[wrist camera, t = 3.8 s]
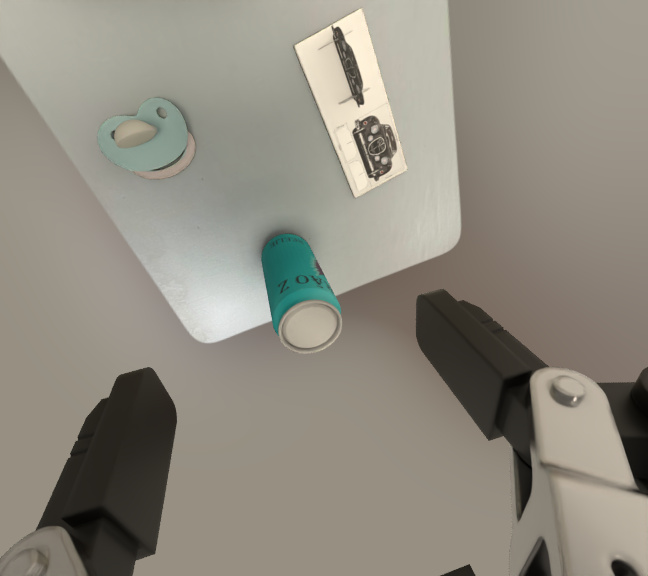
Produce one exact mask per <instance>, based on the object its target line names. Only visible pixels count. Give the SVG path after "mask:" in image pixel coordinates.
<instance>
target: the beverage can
mask: <svg viewBox="0 0 648 576" xmlns="http://www.w3.org/2000/svg"><path fill="white" fill-rule="evenodd" d="M261 261H262V267H263V272H264V278H265V283H266V289H267V294H268V300H269V305H270V311H271V316H272V322H273V327H274V329H275V332H276V333H277V334H278V336H279V338H280V340H281V342H282V343H283V345H284V346H285V347H286V348H288V349H289V350H291V351H293V352H297V353H302V354H303V353H305V354H309V353H315V352H318V351H321V350H323V349H325V348H327V347H328V346H330V345H331V344H332V343H333V342H334V341H335V340H336V339H337V337H338V336H339V334H340V332H341V328H342V318H341V311H340V310H341V309H340V305H339V303H338V301H337V299H336V297H335V295H334V293H333V291H332V289H331V287H330V285H329V283H328V281H327V279H326V277H325V275H324V274H323V272H322V270H321V268H320V266H319V264H318V262H317V260H316V258H315V256H314V254H313V252H312V250H311V248H310V246H309V245H308V243H307V242H306V241H305V240H304V239H302V238H301V237H299V236H296V235H293V234H280V235H277V236H275V237H274V238H272V239H271V240H270V241H269V242H268V243H267V244H266V246H265V247H264V249H263V252H262V257H261Z"/></svg>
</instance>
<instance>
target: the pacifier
mask: <svg viewBox="0 0 648 576" xmlns="http://www.w3.org/2000/svg"><path fill="white" fill-rule="evenodd" d="M159 107H162V108H164V109H165V110H166V112H167V117H166V118H161V117H159V115H158V114H157V109H158V108H159ZM113 130H115V134H114V139H115V140H114V139H113V138H112V136H111V132H112V131H113ZM97 138H98V144H99V147H100V149H101V151H102V153H103V154H104V155H105V156H106V157H107V158H108V159H109V160H110V161H111V162H113V163H114V164H116V165H118V166H120V167H122V168H124V169H127V170H132V171H133V172H134V173H135V174H137V175H139V176H141V177H143V178H147V179H164V178H168V177H171V176H174V175H176V174H178V173H179V172H181V171H182V170H184V169H185V168H186V167H187V166H188V165H189V164H190V162H191V160H192V159H193V157H194V154H195V142H194V139H193V137H192V135H191V134H190V133H189V132H188V131H187V126H186V122H185V120H184V117H183V116H182V114H181V112H180V111H179V110H178V108H177V107H176V106H175V105H174V104H172V103H171V102H169V101H167V100H165V99H162V98H157V97H156V98H151V99H148V100H146V101H145V102H144V103H143V104H142V105H141V106H140V108H139V110H138V114H137V115H136V116H115V117H112V118H110V119H108V120H107V121H105V122H104V123H103V124H102V125H101V127H100V129H99V131H98V136H97ZM184 149H185V150H184ZM183 151H184V154H183V156H182V157H181V158H180V159H179V160H178V161H177V162H176V163H175V164H173V165H171V166H169V167H167V168H164V169H158V168H160V167H163V166H165V165H167V164H169V163H171V162H172V161H174V160H175V159H176V158H177V157H179V156H180V155H181V153H182V152H183Z"/></svg>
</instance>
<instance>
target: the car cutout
mask: <svg viewBox="0 0 648 576" xmlns="http://www.w3.org/2000/svg"><path fill="white" fill-rule="evenodd" d="M293 47H294V50H295V52H296V55H297V57H298V60H299V62H300V65H301V67H302V70H303V72H304V74H305V77H306V79H307V82H308V84H309V87H310V89H311V92H312V94H313V97H314V99H315V102H316V104H317V107H318V109H319V112H320V114H321V117H322V119H323V122H324V124H325V127H326V129H327V132H328V134H329V137H330V139H331V141H332V144H333V146H334V149H335V151H336V154H337V156H338V159H339V161H340V164H341V166H342V169H343V171H344V174H345V176H346V179H347V181H348V184H349V186H350V189H351V191H352V194H353V196H354V198H357V197H359V196H360V195H362V194H364V193H366V192H368V191H370V190H371V189H373V188H375V187H377V186H379V185H381V184H383V183H384V182H386V181H388V180H390V179H392V178H394V177H395V176H397V175H399V174H401V173H403V172H405V171H407V170H408V168H407V165H406V161H405V158H404V154H403V151H402V147H401V144H400V140H399V137H398V133H397V130H396V126H395V123H394V119H393V115H392V112H391V108H390V105H389V101H388V98H387V94H386V91H385V87H384V84H383V80H382V77H381V73H380V70H379V66H378V63H377V59H376V55H375V52H374V48H373V45H372V41H371V38H370V34H369V31H368V27H367V24H366V20H365V17H364V13H363V10H362V8H360V9H358V10H357V11H355V12H353V13H351V14H349V15H348V16H346V17H344V18H342V19H340V20H339V21H337V22H335V23H333V24H332V25H330V26H328V27H326V28H324V29H323V30H321V31H319V32H317V33H316V34H314V35H312V36H310V37H308V38H307V39H305V40H303V41H301V42H299V43H298V44H296V45H294V46H293Z"/></svg>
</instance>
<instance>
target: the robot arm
mask: <svg viewBox="0 0 648 576" xmlns="http://www.w3.org/2000/svg"><path fill="white" fill-rule="evenodd" d="M416 337H417V341H418V344H419V346H420V348H421V350H422V352H423V353H424V355H425V356H426V357H427V358H428V360H429V361H430V363H431V364H432V365H433V367H434V368H435V369H436V370H437V372H438V373H439V375H440V376H441V377H442V379H443V380H444V381H445V383H446V384H447V385H448V387H449V388H450V389H451V391H452V392H453V393H454V395H455V396H456V397H457V399H458V400H459V401H460V403H461V404H462V405H463V407H464V408H465V409H466V411H467V412H468V413H469V415H470V416H471V417H472V419H473V420H474V422H475V423H476V424H477V426H478V427H479V428H480V430H481V431H482V432H483V434H484V435H485V436H486V438H487V439H488V440H493V439H496V438H499V437H502V436H504V437H505V438H506V439H507V440H508V442H509V443H510V444H511V445H510V449H509V455H510V482H511V503H512V504H511V505H512V506H511V507H512V536H511V543H510V554H509V576H648V367H647V368H645V369H644V370H643V371H642V372H641V374H640V375H639V377H638V379H637V381H636V382H635V383H634V382H631V383H595V382H594V381H592V380H591V379H589V378H588V377H586V376H584V375H582V374H580V373H578V372H575V371H573V370H570V369H565V368H559V367H549V366H548V365H546V364H545V363H544V362H543V361H542V360H540V359H539V358H538V357H537V356H536V355H535V354H533V353H532V352H531V351H530V350H529V349H528V348H526V347H525V346H524V345H523V344H522V343H521V342H519V341H518V340H517V339H516V338H515V337H514V336H512V335H511V334H510V333H509V332H507V330H504V329H503V327H502V326H501V325H499V324H498V323H497V322H496V321H493V319H492V318H491V317H490V316H489V315H488V314H487V313H485V312H484V311H483V310H482V309H481V308H479V307H477V306H475V305H472V304H470V303H468V302H466V301H464V300H462V301H456V300H455V299H454V298H453V297H452V296H451V295H450V294H449V293H448V292H447V291H445V290H443V289H440V290H436V291H432V292H429V293H425V294H421V295H419V296H418V297H417V303H416ZM176 424H177V415H176V408H175V405H174V403H173V401H172V399H171V397H170V396H169V394H168V392H167V391H166V389H165V387H164V386H163V384H162V382H161V381H160V379H159V378H158V376H157V374H156V373H155V371H154V370H153V369H152V368H150V367H147V368H143V369H140V370H136V371H132V372H129V373H125V374H121V375H119V376H118V377H117V379H116V381H115V383H114V386H113V388H112V391H111V393H110V396H109V398H105V399H102V400H101V401H100V402H99V403H98V405H97V406H96V407H95V408H94V409H93V411H92V412H91V413H90V414H89V415H88V416H87V418H86V420H85V422H84V424H83V426H82V428H81V431H80V433H79V435H78V441H76V442H75V444H74V446H73V449H72V451H71V453H70V454H71V457H70V458H68V460H67V462H66V464H65V466H64V469H63V471H62V473H61V476H60V478H59V480H58V482H57V485H56V487H55V489H54V491H53V493H52V496H51V498H50V500H49V502H48V505H47V507H46V509H45V511H44V513H43V516H42V518H41V520H40V522H39V525H38V527H37V529H36V531H34V532H32V533H30V534H29V535H27V536H26V537H24V538H23V539H21V540H20V541H19V542H17V543H16V544H15V545H14V546H13V547H11V548H10V549H9V550H8V551H7V552H6V553H5V554H4V555H3V556H2V557H1V558H0V576H132V575H133V570H134V565H135V561H136V560H139V559H142V558H144V557H147V556H150V555H153V554H155V551H156V545H157V539H158V533H159V527H160V521H161V514H162V509H163V503H164V497H165V491H166V485H167V479H168V472H169V467H170V460H171V454H172V448H173V442H174V436H175V429H176ZM441 576H475V574H474V572H473V570H472V568H471V566H470V564H469V565H466V566H464V567H461V568H459V569H456V570H454V571H451V572H449V573H446V574H444V575H441Z"/></svg>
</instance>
